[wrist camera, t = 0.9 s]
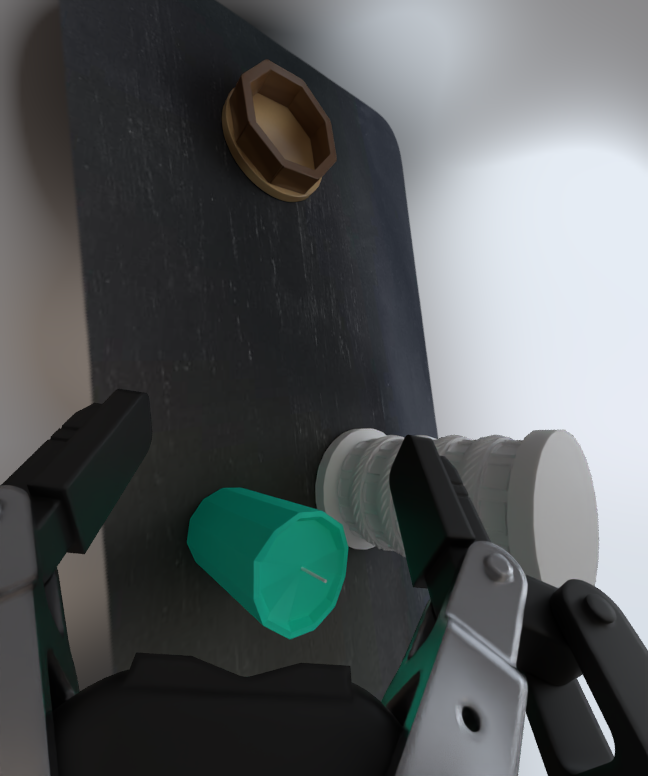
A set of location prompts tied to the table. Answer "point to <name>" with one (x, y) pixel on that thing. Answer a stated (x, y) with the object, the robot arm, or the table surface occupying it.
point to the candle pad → (278, 132)
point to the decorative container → (477, 496)
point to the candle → (271, 556)
